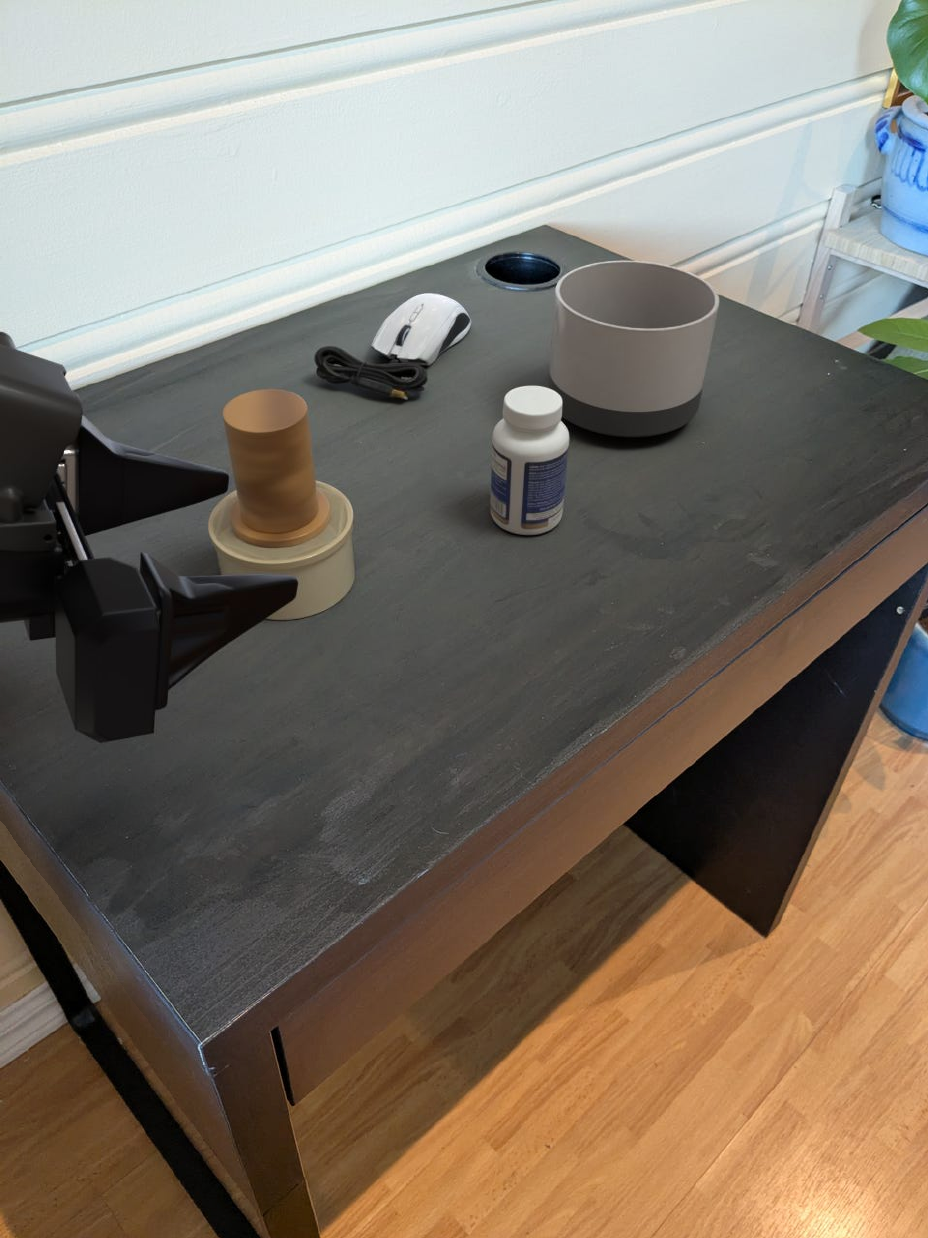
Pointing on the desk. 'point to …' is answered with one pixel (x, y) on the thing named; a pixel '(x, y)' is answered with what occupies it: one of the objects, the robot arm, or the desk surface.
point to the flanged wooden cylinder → (273, 470)
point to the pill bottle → (529, 461)
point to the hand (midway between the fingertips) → (259, 530)
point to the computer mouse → (400, 347)
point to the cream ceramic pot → (294, 556)
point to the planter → (631, 346)
